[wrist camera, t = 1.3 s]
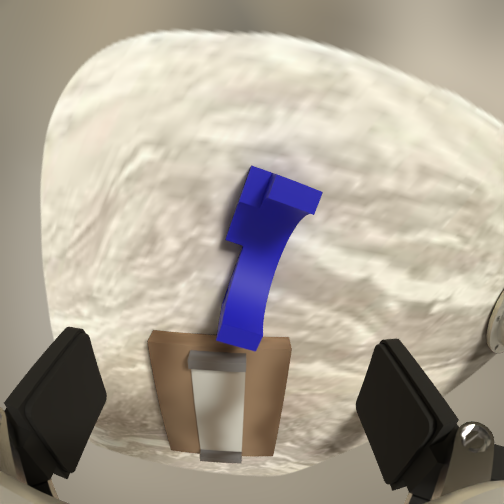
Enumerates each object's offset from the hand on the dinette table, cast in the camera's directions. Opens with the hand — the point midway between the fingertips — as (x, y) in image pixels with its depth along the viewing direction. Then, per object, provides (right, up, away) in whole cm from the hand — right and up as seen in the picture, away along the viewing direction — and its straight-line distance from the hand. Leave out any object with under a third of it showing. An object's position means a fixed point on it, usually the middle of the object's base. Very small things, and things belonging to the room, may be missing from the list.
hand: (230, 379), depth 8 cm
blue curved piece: (+1, +5, +16) cm, 17 cm away
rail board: (-3, -12, +21) cm, 24 cm away
